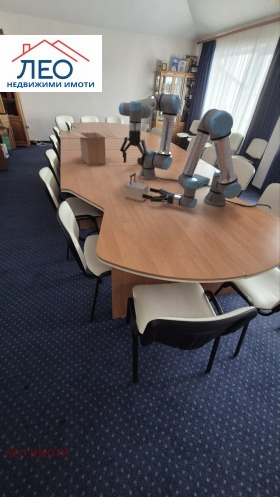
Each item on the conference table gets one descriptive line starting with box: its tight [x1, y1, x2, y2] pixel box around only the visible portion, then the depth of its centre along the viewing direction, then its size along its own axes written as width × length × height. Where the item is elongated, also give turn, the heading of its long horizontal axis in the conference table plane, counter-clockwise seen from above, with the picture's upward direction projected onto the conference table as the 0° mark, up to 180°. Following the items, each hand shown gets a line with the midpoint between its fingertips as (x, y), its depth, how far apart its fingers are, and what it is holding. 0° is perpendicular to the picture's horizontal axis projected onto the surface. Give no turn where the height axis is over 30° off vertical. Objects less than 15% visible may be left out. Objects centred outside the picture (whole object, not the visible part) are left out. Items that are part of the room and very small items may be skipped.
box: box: [70, 129, 114, 166], centre depth 229 cm, size 44×36×27 cm
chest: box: [125, 185, 149, 203], centre depth 165 cm, size 14×10×9 cm
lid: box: [125, 172, 149, 190], centre depth 160 cm, size 14×10×8 cm
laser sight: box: [136, 154, 143, 165], centre depth 236 cm, size 10×22×10 cm, turn 78°
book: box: [192, 173, 211, 189], centre depth 197 cm, size 23×16×5 cm
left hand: (133, 164), depth 154 cm, fingers open, 13 cm apart
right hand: (146, 192), depth 160 cm, fingers open, 13 cm apart
